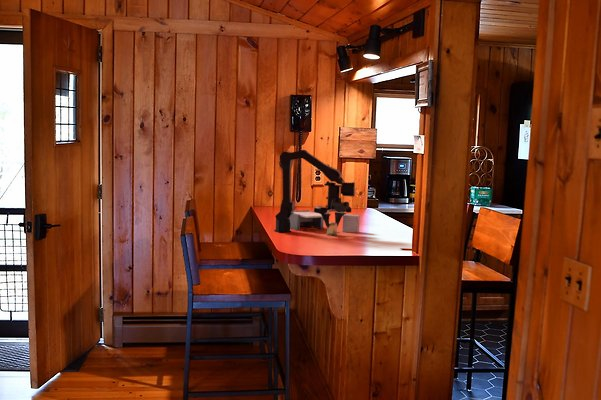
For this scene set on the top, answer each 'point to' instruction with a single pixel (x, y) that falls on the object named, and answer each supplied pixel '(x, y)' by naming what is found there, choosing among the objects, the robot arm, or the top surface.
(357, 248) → the top surface
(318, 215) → the trapdoor flap
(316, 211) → the robot arm
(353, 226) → the medicine box
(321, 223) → the trapdoor stand
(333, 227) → the cylinder
